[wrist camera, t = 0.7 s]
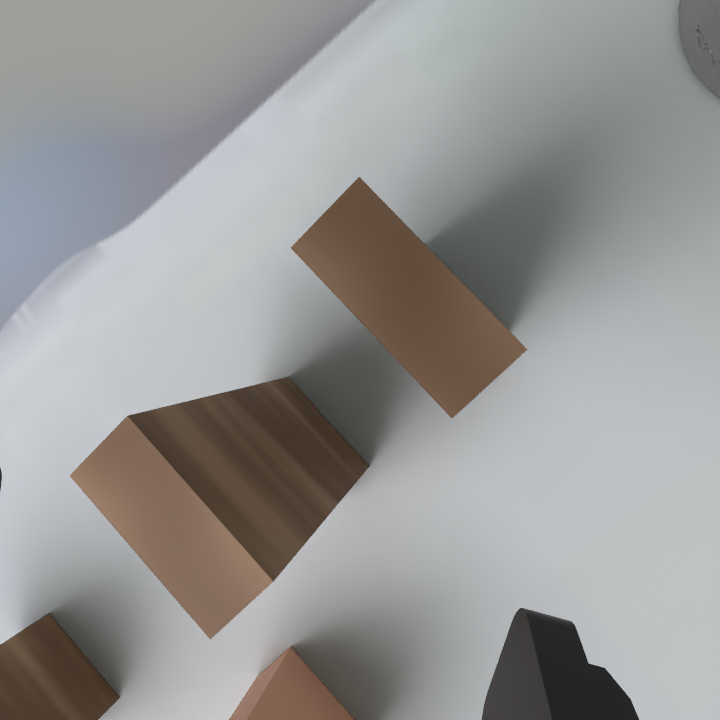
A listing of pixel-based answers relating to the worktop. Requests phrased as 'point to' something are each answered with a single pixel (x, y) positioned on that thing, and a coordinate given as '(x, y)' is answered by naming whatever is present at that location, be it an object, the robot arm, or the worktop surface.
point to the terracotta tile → (289, 694)
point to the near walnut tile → (407, 298)
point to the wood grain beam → (49, 677)
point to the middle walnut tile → (221, 491)
